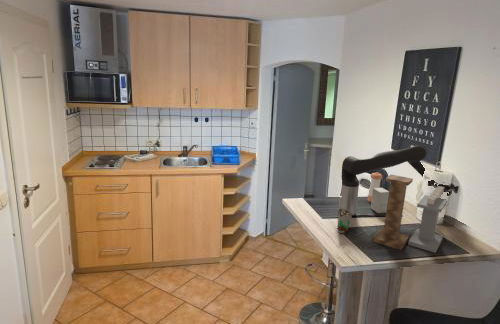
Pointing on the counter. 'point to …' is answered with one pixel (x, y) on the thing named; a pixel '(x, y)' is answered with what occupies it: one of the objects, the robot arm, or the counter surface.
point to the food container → (343, 220)
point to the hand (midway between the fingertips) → (442, 183)
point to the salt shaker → (374, 184)
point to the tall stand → (394, 214)
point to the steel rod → (435, 196)
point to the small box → (379, 200)
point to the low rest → (428, 226)
